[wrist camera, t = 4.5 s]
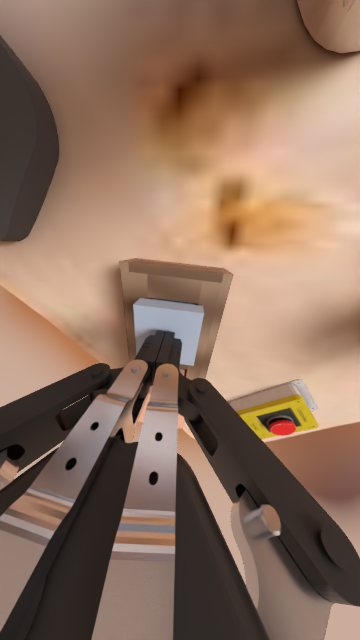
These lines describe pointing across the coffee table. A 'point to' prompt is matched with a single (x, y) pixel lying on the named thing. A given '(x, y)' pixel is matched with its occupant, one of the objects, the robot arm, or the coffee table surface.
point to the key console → (177, 299)
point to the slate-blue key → (169, 323)
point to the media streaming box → (23, 147)
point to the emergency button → (278, 409)
